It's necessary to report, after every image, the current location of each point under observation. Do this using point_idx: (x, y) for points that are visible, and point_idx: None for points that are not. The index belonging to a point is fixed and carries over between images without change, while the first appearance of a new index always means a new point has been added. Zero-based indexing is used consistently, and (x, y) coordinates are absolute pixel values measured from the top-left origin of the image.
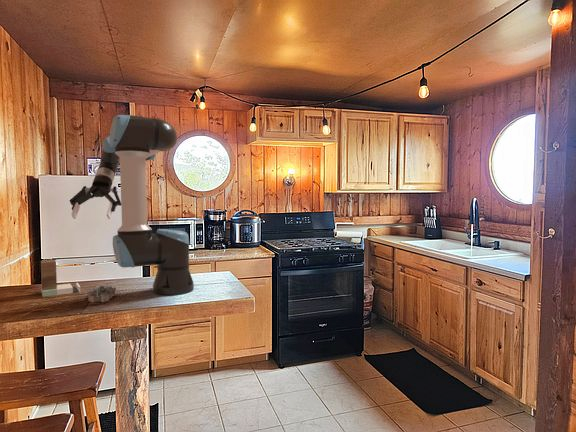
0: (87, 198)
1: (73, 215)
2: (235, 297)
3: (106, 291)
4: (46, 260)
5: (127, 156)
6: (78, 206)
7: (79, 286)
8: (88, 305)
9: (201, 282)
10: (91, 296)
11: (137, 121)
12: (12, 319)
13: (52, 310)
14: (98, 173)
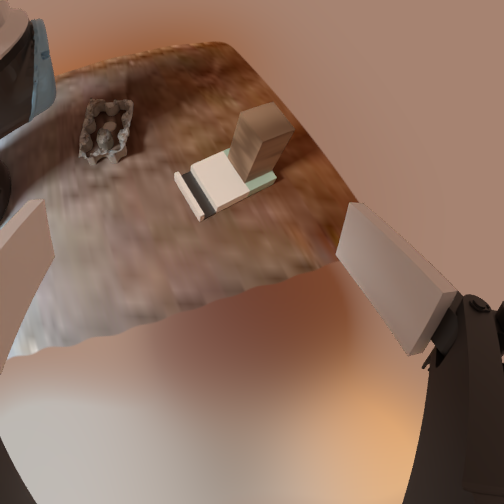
0: (428, 466)
1: (348, 216)
2: None
3: (91, 98)
4: (280, 130)
5: None
6: (410, 315)
7: (177, 175)
8: (125, 93)
9: None
10: (122, 101)
11: None
12: (223, 48)
13: (181, 73)
14: None
